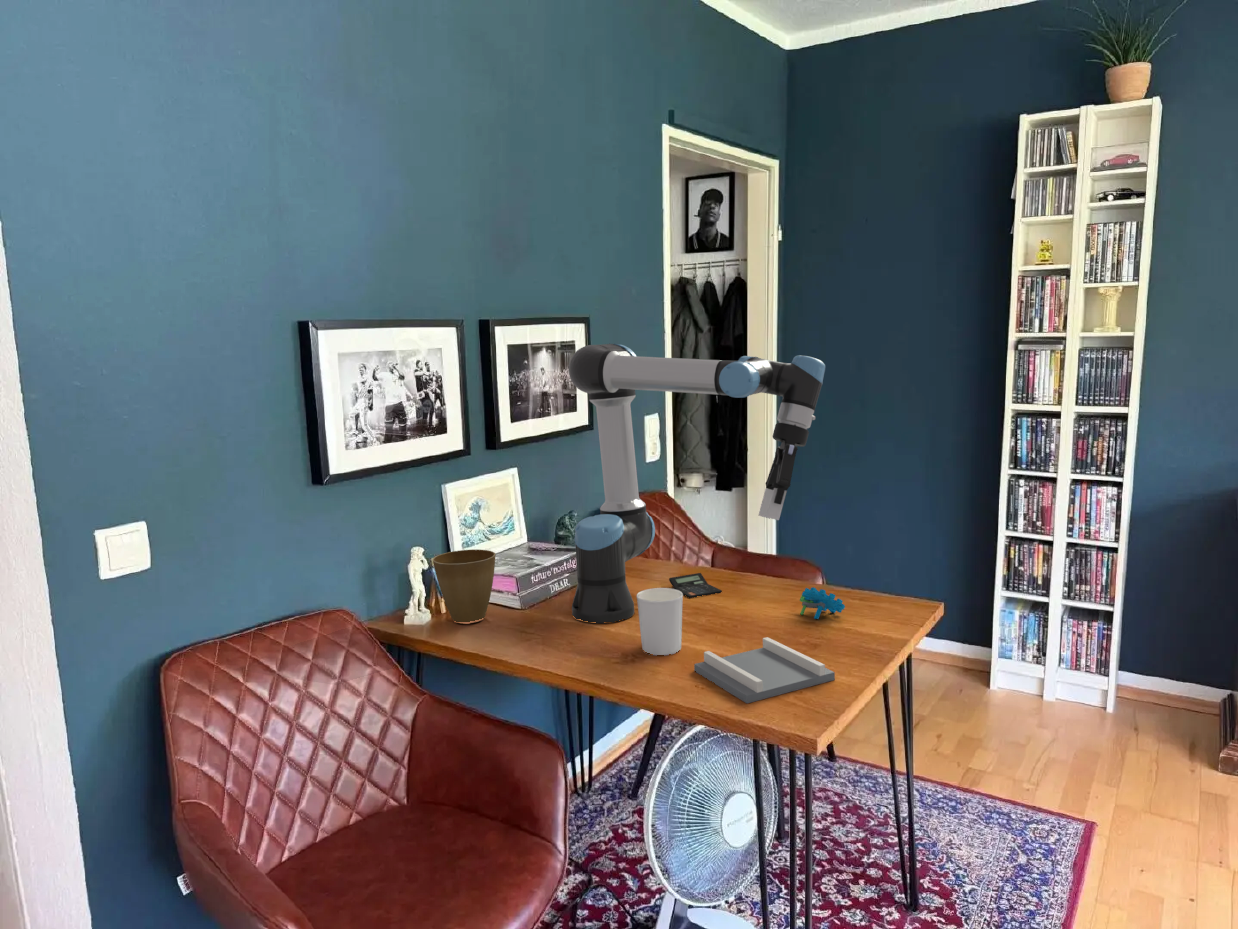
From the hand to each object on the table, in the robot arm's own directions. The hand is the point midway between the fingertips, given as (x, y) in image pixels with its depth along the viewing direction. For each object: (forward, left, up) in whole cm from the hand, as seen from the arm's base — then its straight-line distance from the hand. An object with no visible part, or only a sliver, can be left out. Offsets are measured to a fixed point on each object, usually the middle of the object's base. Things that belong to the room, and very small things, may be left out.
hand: (768, 518), depth 190 cm
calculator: (-26, +23, -26) cm, 43 cm away
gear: (+9, +11, -25) cm, 29 cm away
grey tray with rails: (+6, -28, -25) cm, 38 cm away
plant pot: (-70, -15, -25) cm, 76 cm away
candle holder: (-18, -20, -25) cm, 37 cm away
